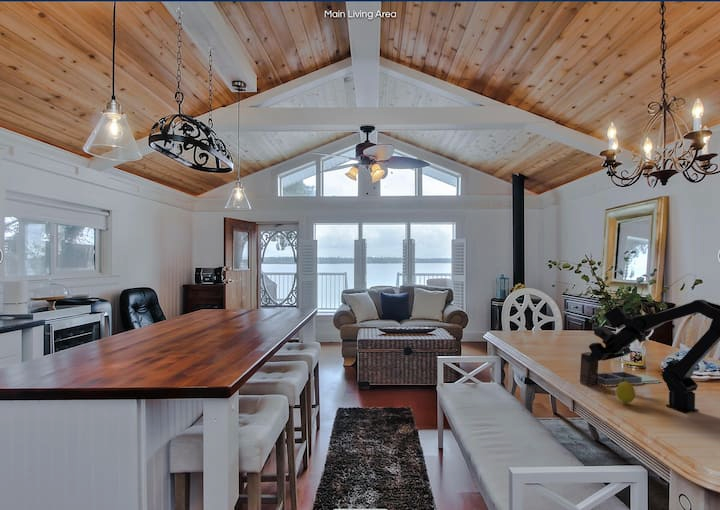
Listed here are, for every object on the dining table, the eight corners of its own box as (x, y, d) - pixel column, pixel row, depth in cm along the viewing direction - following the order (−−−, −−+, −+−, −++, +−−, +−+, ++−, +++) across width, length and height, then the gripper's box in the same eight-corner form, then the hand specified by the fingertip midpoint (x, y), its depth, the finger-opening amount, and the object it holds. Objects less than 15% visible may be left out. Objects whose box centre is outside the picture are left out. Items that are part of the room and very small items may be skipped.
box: (590, 386, 169) (591, 355, 169) (579, 383, 172) (580, 353, 172) (598, 383, 172) (599, 353, 172) (587, 380, 176) (588, 351, 176)
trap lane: (661, 382, 174) (661, 376, 174) (606, 386, 168) (606, 380, 168) (640, 375, 184) (640, 370, 184) (587, 379, 178) (587, 373, 178)
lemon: (625, 407, 145) (626, 383, 145) (612, 401, 150) (612, 379, 150) (638, 406, 147) (639, 382, 147) (624, 400, 152) (625, 378, 152)
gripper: (623, 319, 170) (596, 341, 179) (594, 322, 161) (567, 345, 171) (643, 343, 163) (614, 365, 173) (614, 347, 154) (585, 370, 164)
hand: (594, 360), depth 170 cm, fingers open, 9 cm apart
